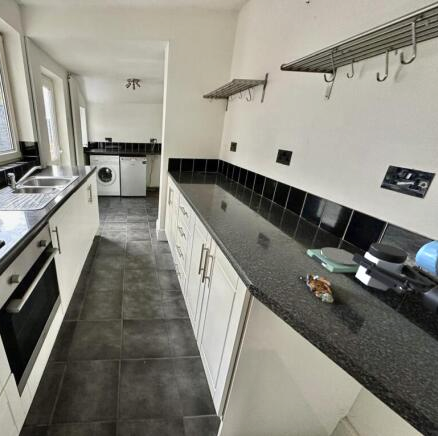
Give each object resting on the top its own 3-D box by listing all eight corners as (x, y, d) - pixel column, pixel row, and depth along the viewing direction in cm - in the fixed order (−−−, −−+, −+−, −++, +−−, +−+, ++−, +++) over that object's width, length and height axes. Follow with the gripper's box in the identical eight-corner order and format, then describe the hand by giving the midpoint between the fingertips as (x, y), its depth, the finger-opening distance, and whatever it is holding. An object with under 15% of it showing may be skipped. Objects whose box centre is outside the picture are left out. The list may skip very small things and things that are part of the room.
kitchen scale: (340, 254, 95) (343, 249, 94) (370, 273, 83) (373, 267, 82) (305, 254, 94) (307, 249, 93) (330, 273, 82) (333, 268, 81)
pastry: (318, 303, 68) (322, 293, 67) (298, 278, 79) (301, 269, 78) (343, 305, 67) (348, 296, 66) (319, 280, 78) (323, 271, 77)
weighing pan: (340, 249, 93) (341, 247, 93) (368, 266, 82) (369, 264, 82) (312, 249, 93) (313, 247, 92) (336, 266, 82) (337, 264, 81)
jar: (383, 293, 69) (401, 259, 64) (351, 278, 76) (365, 246, 71) (396, 285, 73) (414, 252, 68) (364, 271, 79) (378, 240, 75)
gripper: (407, 319, 56) (333, 266, 77) (486, 318, 57) (391, 265, 78) (422, 295, 53) (341, 246, 74) (505, 294, 54) (401, 246, 75)
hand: (367, 256), depth 76 cm, fingers closed on jar, 8 cm apart
